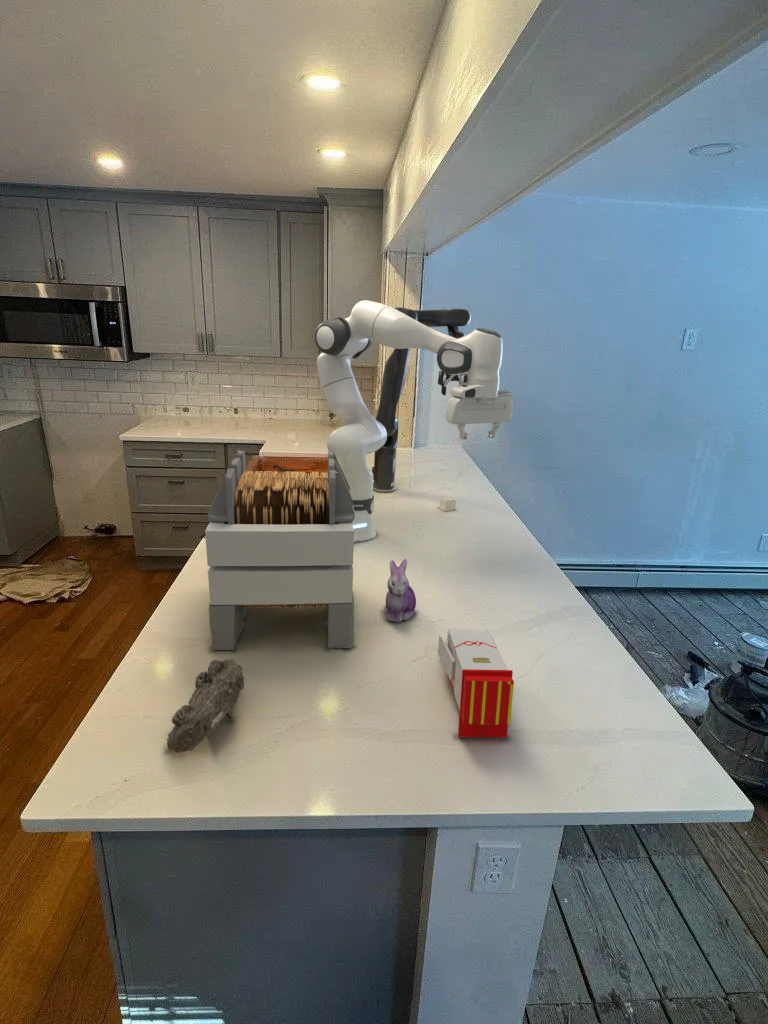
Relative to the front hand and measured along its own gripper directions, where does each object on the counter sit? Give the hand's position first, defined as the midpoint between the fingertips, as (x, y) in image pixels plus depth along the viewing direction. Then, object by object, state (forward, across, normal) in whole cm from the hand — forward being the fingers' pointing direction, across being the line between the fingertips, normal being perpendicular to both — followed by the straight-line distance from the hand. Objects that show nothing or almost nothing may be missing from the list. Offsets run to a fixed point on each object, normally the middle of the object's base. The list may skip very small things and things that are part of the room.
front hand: (477, 438), depth 164 cm
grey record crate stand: (+41, +59, +11) cm, 73 cm away
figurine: (+40, +32, +21) cm, 55 cm away
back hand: (+1, -40, -85) cm, 94 cm away
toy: (+40, +31, +55) cm, 75 cm away
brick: (+40, -21, -49) cm, 67 cm away
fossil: (+41, +82, +44) cm, 102 cm away
